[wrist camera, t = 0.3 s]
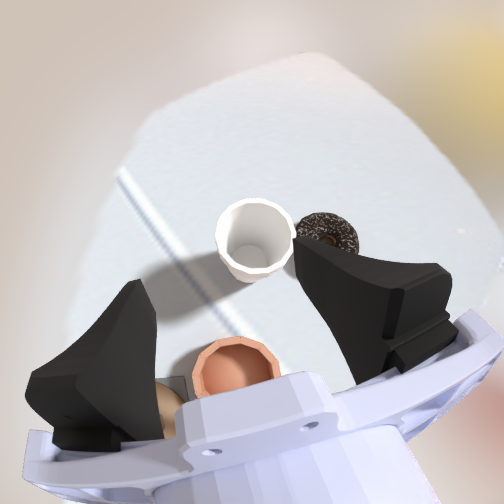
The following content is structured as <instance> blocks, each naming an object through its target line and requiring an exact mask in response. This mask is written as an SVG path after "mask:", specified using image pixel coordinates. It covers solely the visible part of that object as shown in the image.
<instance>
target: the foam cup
mask: <svg viewBox="0 0 504 504" xmlns="http://www.w3.org/2000/svg"><path fill="white" fill-rule="evenodd" d="M292 238H296V230H295V228H294V225H293V222H292V219H291V217H290V216H289V215H288V214H287V213H286V212H285V211H284V210H283V209H282V208H281V207H280V206H279V205H278V204H275V203H273V202H270V201H267V200H265V199H262V198H259V199H243V200H241V201H239V202H237V203H235V204H233V205H230V206H229V207H228V208H227V209H226V211H225V212H224V213H223V214H222V215H221V217H220V218H219V219H218V224H217V228H216V233H215V240H216V245H217V249H218V252H219V256H220V259H221V260H222V261H223V262H224V263H225V264H226V266H227V267H228V269H229V270H230V272H231V273H232V274H233V275H234V277H235V278H236V279H237V280H240V281H242V282H244V283H254V282H256V281H258V280H260V279H262V278H265V277H268V276H270V275H272V274H273V273H275V272H277V271H279V270H281V269H282V267H283V266H284V265H285V263H286V262H287V260H288V259H289V257H290V256H291V254H292V253H293V242H292Z"/></svg>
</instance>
